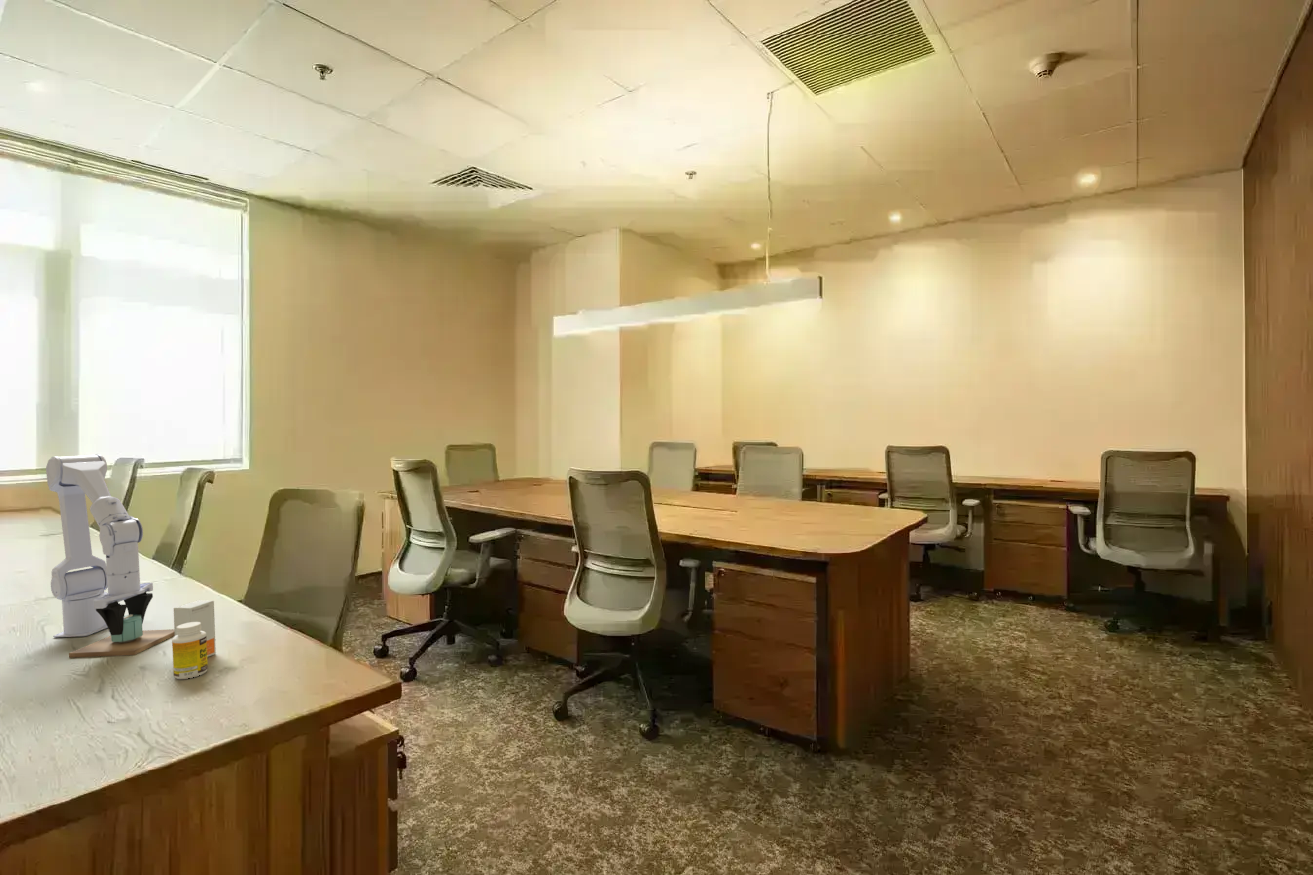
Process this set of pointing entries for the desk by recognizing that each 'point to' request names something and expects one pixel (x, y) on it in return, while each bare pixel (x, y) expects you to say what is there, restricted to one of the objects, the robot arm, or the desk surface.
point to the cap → (129, 628)
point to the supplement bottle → (189, 651)
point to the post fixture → (123, 645)
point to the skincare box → (198, 620)
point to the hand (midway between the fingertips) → (126, 630)
